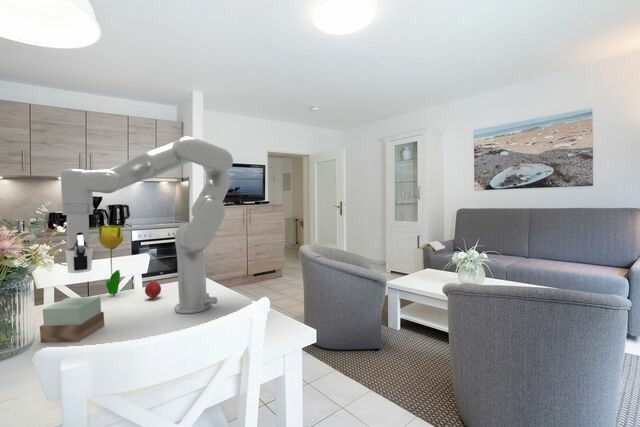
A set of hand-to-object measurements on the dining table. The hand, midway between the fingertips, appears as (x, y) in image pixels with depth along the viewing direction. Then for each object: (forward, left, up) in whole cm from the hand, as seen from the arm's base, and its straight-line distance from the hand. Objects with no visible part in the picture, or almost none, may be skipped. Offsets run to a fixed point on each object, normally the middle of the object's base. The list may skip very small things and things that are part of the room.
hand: (79, 267), depth 98 cm
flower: (+14, -34, -20) cm, 42 cm away
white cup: (0, 0, -1) cm, 1 cm away
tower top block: (+2, +2, -16) cm, 16 cm away
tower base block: (+2, +2, -21) cm, 21 cm away
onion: (-5, -30, -20) cm, 37 cm away
